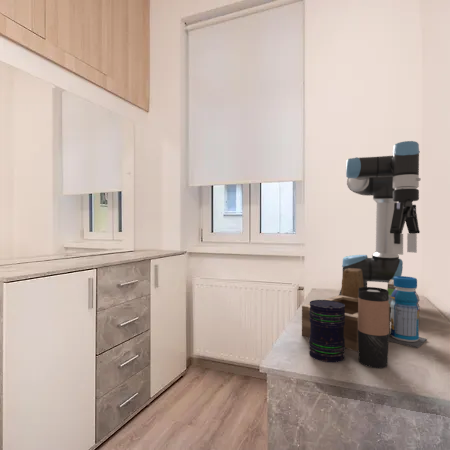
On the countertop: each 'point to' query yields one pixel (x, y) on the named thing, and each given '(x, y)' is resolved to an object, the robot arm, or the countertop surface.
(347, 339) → the walnut box
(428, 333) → the countertop surface
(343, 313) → the storage jar
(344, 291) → the block
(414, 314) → the beverage bottle
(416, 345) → the charcoal mat
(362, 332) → the travel mug
